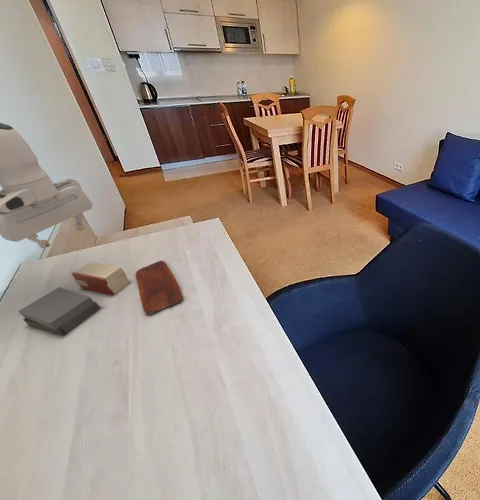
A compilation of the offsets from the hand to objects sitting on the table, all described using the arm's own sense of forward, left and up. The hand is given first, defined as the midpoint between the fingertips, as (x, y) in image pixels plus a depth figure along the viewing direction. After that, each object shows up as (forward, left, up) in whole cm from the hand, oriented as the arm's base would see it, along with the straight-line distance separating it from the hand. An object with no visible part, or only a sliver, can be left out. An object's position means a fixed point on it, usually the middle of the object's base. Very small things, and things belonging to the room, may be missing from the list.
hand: (64, 237), depth 84 cm
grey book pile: (+3, -12, -18) cm, 22 cm away
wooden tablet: (+19, +5, -18) cm, 27 cm away
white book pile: (+2, +1, -18) cm, 18 cm away
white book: (+2, +1, -14) cm, 14 cm away
